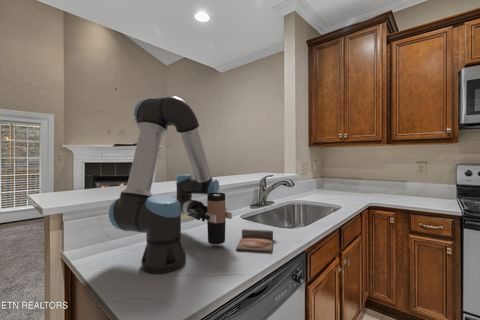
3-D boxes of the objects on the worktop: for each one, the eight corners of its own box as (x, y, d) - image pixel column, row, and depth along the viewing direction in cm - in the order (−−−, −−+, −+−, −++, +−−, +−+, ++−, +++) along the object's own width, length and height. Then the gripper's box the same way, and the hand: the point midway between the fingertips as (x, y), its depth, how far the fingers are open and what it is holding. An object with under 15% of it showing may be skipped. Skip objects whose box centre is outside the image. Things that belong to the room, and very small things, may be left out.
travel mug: (214, 237, 105) (214, 192, 105) (229, 240, 101) (229, 193, 101) (203, 242, 98) (203, 194, 98) (218, 246, 95) (218, 195, 94)
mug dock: (271, 253, 93) (271, 242, 93) (236, 250, 95) (236, 240, 95) (272, 239, 107) (272, 230, 107) (242, 237, 110) (242, 229, 110)
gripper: (211, 212, 120) (242, 222, 103) (174, 220, 106) (202, 232, 89) (211, 198, 120) (242, 204, 103) (174, 203, 106) (202, 212, 89)
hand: (223, 217), depth 96 cm, fingers closed on travel mug, 7 cm apart
